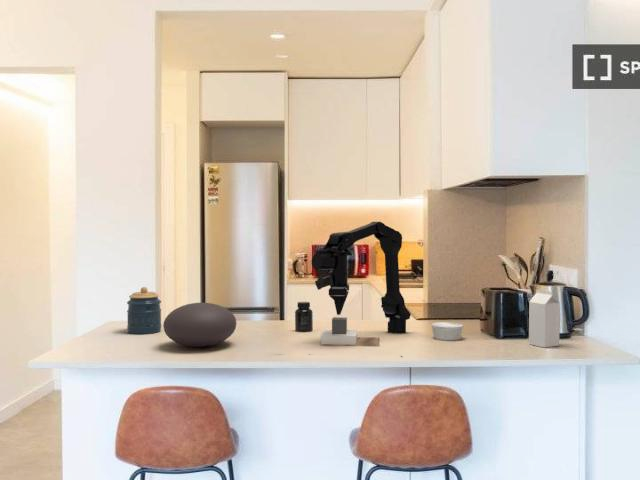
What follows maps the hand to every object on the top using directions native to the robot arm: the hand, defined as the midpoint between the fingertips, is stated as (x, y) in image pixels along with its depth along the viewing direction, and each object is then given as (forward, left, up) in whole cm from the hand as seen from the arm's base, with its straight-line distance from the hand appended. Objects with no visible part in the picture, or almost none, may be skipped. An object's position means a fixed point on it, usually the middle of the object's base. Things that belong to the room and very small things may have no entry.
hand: (339, 313), depth 211 cm
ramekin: (-39, -14, -11) cm, 43 cm away
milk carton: (-71, -4, -11) cm, 72 cm away
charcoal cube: (0, 0, -9) cm, 9 cm away
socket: (0, 0, -10) cm, 10 cm away
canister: (+78, -18, -11) cm, 81 cm away
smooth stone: (+48, +7, -11) cm, 50 cm away
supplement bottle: (+15, -20, -11) cm, 27 cm away
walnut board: (-4, 0, -11) cm, 12 cm away
